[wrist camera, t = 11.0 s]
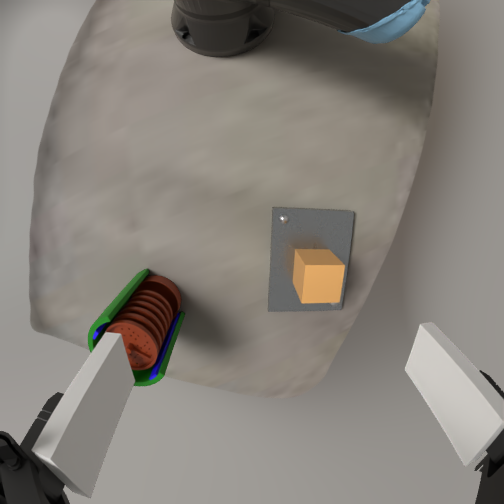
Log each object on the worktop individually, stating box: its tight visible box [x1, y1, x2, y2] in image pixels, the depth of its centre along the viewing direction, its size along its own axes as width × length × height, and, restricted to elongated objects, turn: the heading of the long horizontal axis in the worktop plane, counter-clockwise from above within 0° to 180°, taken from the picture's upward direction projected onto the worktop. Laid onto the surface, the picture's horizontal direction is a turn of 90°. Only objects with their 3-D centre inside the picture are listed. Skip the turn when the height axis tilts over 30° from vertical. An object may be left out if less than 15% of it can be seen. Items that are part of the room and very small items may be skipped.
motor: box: [88, 269, 185, 386], centre depth 34 cm, size 10×9×20 cm
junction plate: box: [268, 207, 354, 312], centre depth 40 cm, size 16×12×6 cm
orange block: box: [293, 249, 345, 303], centre depth 38 cm, size 5×5×7 cm
